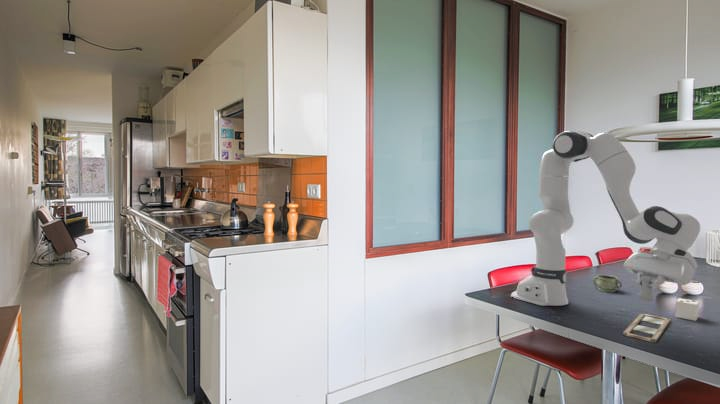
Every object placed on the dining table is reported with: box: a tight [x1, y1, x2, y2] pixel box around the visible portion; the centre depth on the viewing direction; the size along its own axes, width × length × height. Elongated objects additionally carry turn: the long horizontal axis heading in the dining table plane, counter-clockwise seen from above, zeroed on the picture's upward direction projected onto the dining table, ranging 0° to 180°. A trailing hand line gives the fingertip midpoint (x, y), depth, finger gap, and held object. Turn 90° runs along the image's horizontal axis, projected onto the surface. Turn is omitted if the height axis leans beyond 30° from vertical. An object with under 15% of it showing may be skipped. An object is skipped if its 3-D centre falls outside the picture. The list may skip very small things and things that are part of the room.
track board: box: [622, 313, 671, 343], centre depth 142 cm, size 9×28×1 cm, turn 135°
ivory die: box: [675, 297, 700, 322], centre depth 154 cm, size 6×6×6 cm
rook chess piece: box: [637, 275, 655, 302], centre depth 136 cm, size 4×4×8 cm
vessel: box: [592, 274, 623, 293], centre depth 192 cm, size 12×9×6 cm
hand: (645, 286), depth 136 cm, fingers closed on rook chess piece, 3 cm apart
